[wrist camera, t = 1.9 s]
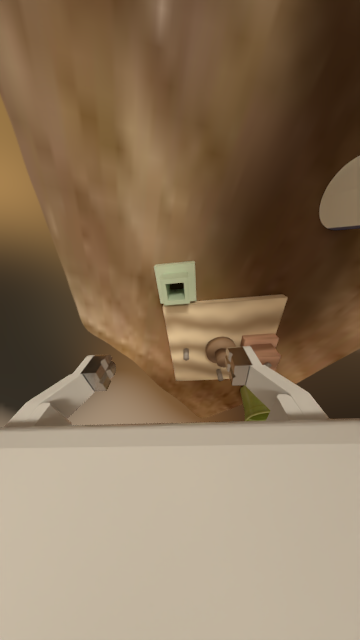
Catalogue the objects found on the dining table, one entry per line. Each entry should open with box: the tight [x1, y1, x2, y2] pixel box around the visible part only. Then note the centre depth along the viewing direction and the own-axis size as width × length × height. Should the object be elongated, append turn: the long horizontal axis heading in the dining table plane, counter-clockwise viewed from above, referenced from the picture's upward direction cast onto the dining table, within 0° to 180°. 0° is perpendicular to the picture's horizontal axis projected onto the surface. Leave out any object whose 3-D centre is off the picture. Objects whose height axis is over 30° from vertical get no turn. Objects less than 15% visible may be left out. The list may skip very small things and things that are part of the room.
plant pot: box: [240, 385, 270, 421], centre depth 37 cm, size 9×9×9 cm
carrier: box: [163, 294, 288, 381], centre depth 29 cm, size 22×22×7 cm
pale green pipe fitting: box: [154, 261, 196, 305], centre depth 23 cm, size 6×6×5 cm
